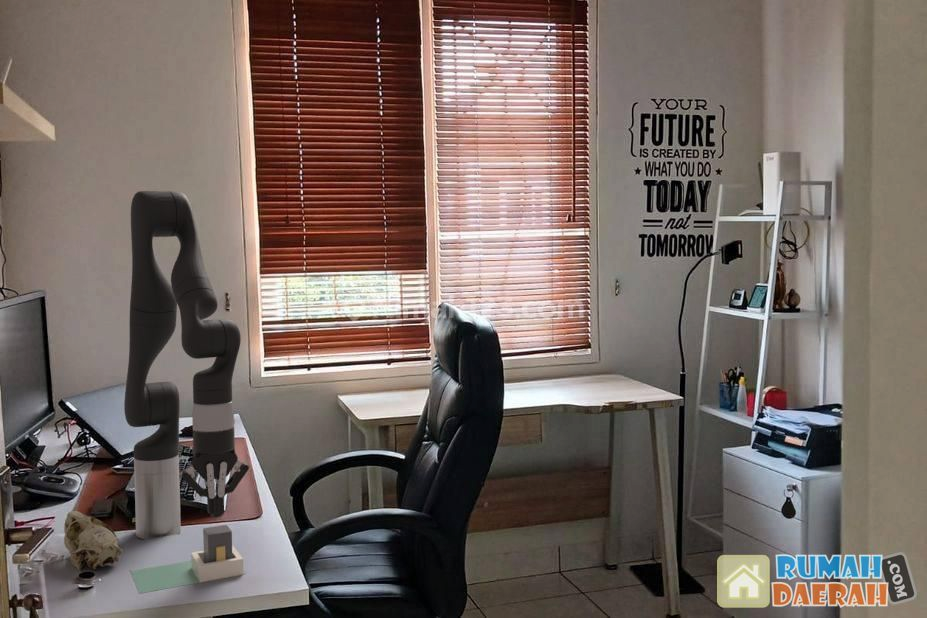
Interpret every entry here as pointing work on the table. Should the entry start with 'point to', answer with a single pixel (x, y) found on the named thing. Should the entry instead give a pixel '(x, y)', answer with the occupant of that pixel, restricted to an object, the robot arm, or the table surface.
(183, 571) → the board
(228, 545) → the plug
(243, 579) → the table surface
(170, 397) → the robot arm
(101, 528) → the skull
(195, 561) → the frame
